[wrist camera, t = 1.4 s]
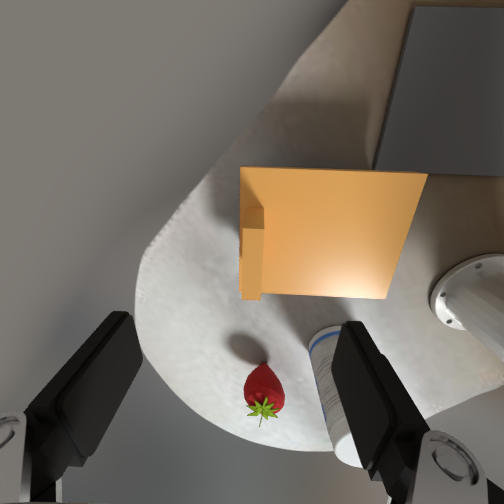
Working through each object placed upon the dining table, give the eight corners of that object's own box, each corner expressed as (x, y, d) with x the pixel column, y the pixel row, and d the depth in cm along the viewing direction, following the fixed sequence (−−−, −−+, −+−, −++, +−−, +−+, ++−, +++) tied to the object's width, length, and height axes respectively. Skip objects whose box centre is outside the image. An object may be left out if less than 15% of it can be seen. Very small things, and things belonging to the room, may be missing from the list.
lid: (413, 171, 21) (494, 184, 14) (376, 288, 26) (420, 342, 19) (242, 165, 21) (231, 174, 14) (240, 281, 27) (232, 332, 19)
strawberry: (266, 381, 43) (267, 444, 34) (238, 361, 41) (231, 421, 32) (289, 368, 41) (297, 430, 32) (261, 345, 39) (261, 405, 30)
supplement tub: (296, 349, 39) (313, 452, 26) (332, 313, 36) (374, 412, 22) (339, 371, 41) (376, 478, 28) (377, 339, 37) (441, 445, 24)
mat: (615, 13, 20) (624, 10, 20) (529, 176, 26) (534, 177, 25) (411, 10, 21) (415, 6, 20) (372, 171, 26) (374, 171, 26)
